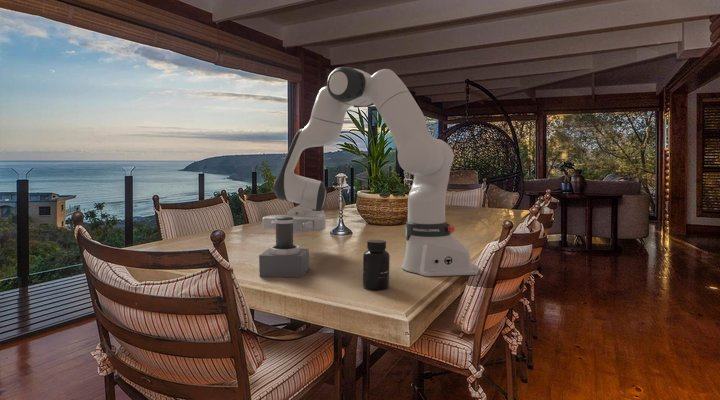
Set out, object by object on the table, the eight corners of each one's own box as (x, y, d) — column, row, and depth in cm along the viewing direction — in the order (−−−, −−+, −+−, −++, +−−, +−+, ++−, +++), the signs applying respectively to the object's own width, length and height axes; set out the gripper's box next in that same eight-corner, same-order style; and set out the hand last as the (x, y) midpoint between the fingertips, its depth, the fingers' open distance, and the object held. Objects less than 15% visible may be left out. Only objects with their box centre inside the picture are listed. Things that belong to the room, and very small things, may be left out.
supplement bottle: (387, 291, 105) (387, 244, 104) (360, 290, 107) (360, 243, 105) (391, 283, 112) (391, 239, 111) (365, 282, 113) (365, 238, 112)
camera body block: (309, 268, 128) (308, 243, 127) (301, 277, 118) (301, 250, 117) (270, 267, 129) (269, 243, 128) (259, 276, 119) (258, 250, 118)
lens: (295, 250, 125) (295, 216, 124) (291, 253, 120) (291, 218, 119) (278, 249, 126) (277, 216, 125) (273, 253, 120) (273, 218, 120)
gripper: (268, 209, 142) (255, 215, 128) (328, 210, 141) (322, 216, 127) (268, 228, 143) (255, 235, 129) (329, 229, 141) (322, 237, 127)
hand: (289, 226), depth 128 cm, fingers open, 8 cm apart
